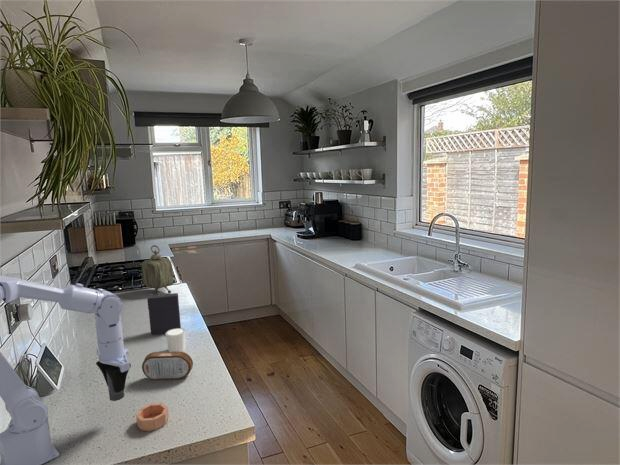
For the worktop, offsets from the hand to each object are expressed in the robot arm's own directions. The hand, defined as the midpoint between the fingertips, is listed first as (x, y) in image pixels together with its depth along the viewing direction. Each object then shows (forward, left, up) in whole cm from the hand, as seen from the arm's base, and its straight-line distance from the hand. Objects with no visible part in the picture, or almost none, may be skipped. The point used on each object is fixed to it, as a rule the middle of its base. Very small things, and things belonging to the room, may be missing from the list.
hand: (116, 388), depth 105 cm
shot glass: (+31, +24, -9) cm, 40 cm away
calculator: (+37, +42, -9) cm, 57 cm away
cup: (+5, -8, -9) cm, 13 cm away
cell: (0, 0, -2) cm, 2 cm away
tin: (+19, +9, -9) cm, 23 cm away
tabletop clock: (+60, +90, -9) cm, 109 cm away
